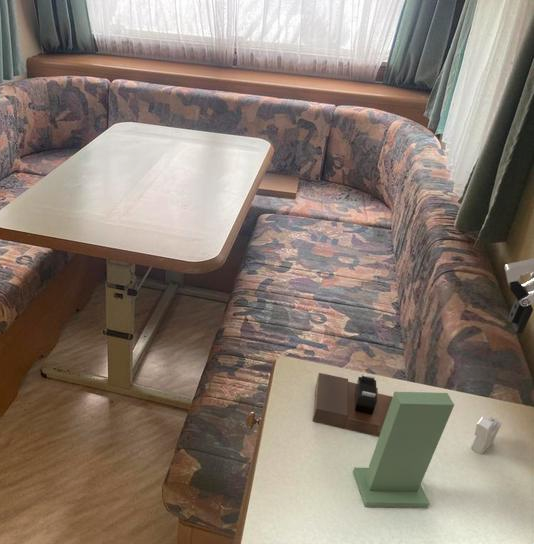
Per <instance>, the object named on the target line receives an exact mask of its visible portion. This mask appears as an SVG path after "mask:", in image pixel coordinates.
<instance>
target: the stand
mask: <svg viewBox="0 0 534 544" xmlns="http://www.w3.org/2000/svg"><path fill="white" fill-rule="evenodd" d="M392 397H393V398H392V401H391V404H390V407H389V410H388V412H387V415H386V418H385V421H384V424H383V427H382V430H381V433H380V436H379V437H378V438H377V441H376V444H375V448H374V450H373V453H372V456H371V459H370V462H369V465H368V467H359V466H357V467H353V470H352V473H353V477H354V480H355V482H356V485H357V488H358V491H359V494H360V496H361V500H362V502H363V505H364V507H365V508H411V509H412V508H414V509H415V508H416V509H417V508H418V509H422V508H423V509H428V508H429V506H430V504H431V503H430V501H429V499H428V497H427V494H426V491H425V490H424V488H423V486H422V482H423V480H424V478H425V475H426V473H427V470H428V468H429V465H430V464H431V461H432V459H433V456H434V454H435V452H436V449H437V447H438V444H439V442H440V440H441V438H442V436H443V434H444V431H445V428H446V426H447V424H448V421H449V419H450V416H451V415H452V412H453V409H454V408H455V407H454V406H455V404H454V402H453V400H452V399H451V397H450V395H449V393H448V392H429V391H428V392H427V391H426V392H425V391H394V392H393V396H392Z"/></svg>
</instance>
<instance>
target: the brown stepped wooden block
mask: <svg viewBox="0 0 534 544" xmlns="http://www.w3.org/2000/svg"><path fill="white" fill-rule="evenodd" d="M356 384H357V382H353V381H349V378H346V377H341V376H338V375H332V374H327V373H324V372H323V373H322V372H318V374H317V377H316V383H315V389H314V400H313V415H312V422H314V423H317V424H322V425H326V426H331V427H335V428H338V429H339V428H340V429H344V430H349V431H352V432H357V433H361V434H367V435H371V436H374V437H378V438H379V436H380V433H381V430H382V427H383V424H384V421H385V418H386V415H387V412H388V410H389V407H390V404H391V401H392V398H393V396H392V395H387V394H383V393H379V391H378V390H379V389H378V387H376V390H377V402H376V405H375V408H374V412H373V415H370V414H366V413H361V412H357V411H355V388H356Z"/></svg>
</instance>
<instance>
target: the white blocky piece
mask: <svg viewBox="0 0 534 544" xmlns="http://www.w3.org/2000/svg"><path fill="white" fill-rule="evenodd" d="M502 425H503V423H502V422H501V421H499V420H498V419H497V418H494V417H492V416H490V417H489V418H488V419H487V418H485V417H484V416H482V417H481V418H480V419H479V420H478V422H477V423H476V427H475V431H474V436H475V437H474V439H473V441H472V444H471V446H470V449H471V450H473V451H474V452H475V453H478V454H479V455H482V454H484V453H485V451H487V449H488V448H490V446H491V445H492V444H493V443H494V440H495V438H496V437H497V434H498V432H499V430H500V428H501V426H502Z"/></svg>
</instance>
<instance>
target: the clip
mask: <svg viewBox="0 0 534 544" xmlns="http://www.w3.org/2000/svg"><path fill="white" fill-rule="evenodd" d="M356 383H357V384H356V388H355V411H357V412H361V413H366V414H370V415H373V412H374V408H375V405H376V402H377V390H376V388H377V380H376V377H375V376H370V375H365V374H361V376H358V378H357V381H356Z"/></svg>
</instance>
